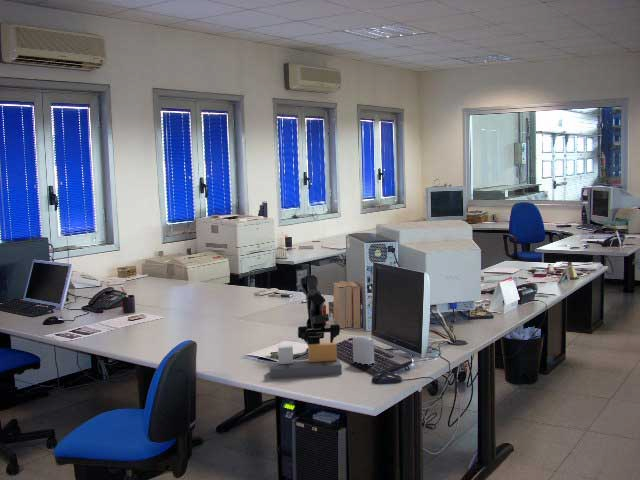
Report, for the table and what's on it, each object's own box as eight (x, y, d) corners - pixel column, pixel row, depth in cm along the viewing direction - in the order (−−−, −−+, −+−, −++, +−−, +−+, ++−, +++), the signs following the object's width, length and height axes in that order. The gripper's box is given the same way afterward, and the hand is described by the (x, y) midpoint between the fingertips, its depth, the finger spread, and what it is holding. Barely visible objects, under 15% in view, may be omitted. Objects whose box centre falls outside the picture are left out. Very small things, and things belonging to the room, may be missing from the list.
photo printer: (351, 362, 307) (351, 335, 306) (358, 360, 310) (357, 333, 309) (369, 366, 300) (369, 338, 299) (375, 364, 303) (375, 336, 302)
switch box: (269, 372, 297) (269, 363, 296) (338, 367, 300) (338, 358, 300) (271, 378, 287) (270, 369, 286) (341, 373, 290) (341, 364, 290)
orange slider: (308, 360, 297) (308, 344, 297) (336, 358, 299) (335, 342, 298) (309, 362, 294) (308, 346, 294) (337, 360, 296) (336, 344, 295)
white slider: (278, 362, 296) (278, 346, 295) (292, 361, 297) (292, 345, 296) (279, 364, 293) (278, 348, 292) (293, 363, 294) (292, 347, 293)
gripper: (297, 308, 304) (300, 339, 294) (338, 306, 306) (343, 336, 297) (296, 322, 313) (299, 352, 303) (336, 320, 315) (341, 349, 305)
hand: (320, 347), depth 302 cm, fingers open, 9 cm apart
